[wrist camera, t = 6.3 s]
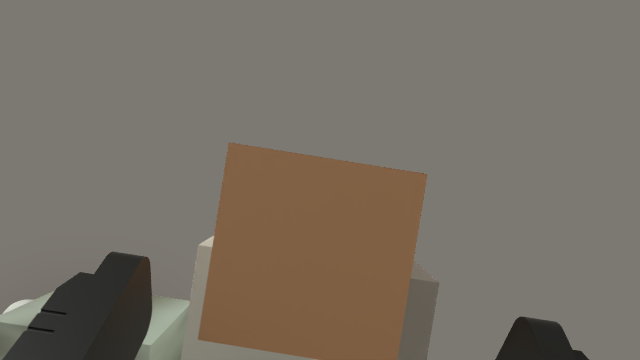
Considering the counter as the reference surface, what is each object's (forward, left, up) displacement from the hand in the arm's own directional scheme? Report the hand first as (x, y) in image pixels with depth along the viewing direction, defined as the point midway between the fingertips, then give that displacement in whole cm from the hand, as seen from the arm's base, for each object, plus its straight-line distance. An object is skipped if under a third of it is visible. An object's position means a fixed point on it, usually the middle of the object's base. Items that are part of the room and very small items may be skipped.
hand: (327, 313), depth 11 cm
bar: (-3, +12, -1) cm, 12 cm away
